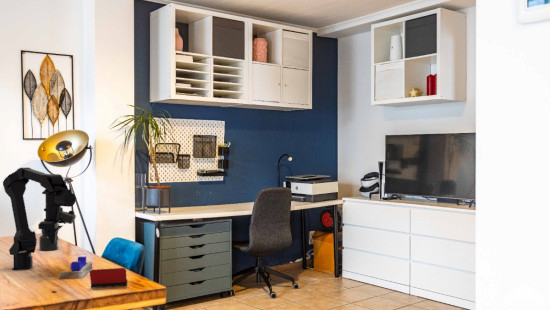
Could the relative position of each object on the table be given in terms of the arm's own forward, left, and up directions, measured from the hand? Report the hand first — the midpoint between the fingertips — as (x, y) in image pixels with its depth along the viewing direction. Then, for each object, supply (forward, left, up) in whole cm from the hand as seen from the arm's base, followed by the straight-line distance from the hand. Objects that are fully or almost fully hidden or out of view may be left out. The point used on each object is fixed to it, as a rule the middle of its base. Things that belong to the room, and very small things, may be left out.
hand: (53, 244), depth 225 cm
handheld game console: (+26, -25, -12) cm, 38 cm away
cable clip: (+10, -3, -12) cm, 16 cm away
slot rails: (+9, -2, -12) cm, 15 cm away
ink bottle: (-18, +59, -12) cm, 63 cm away
